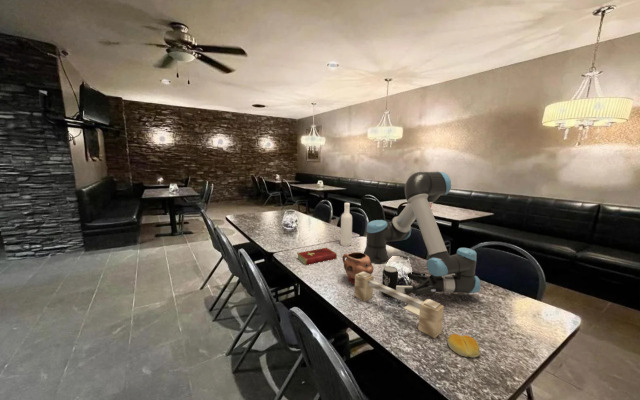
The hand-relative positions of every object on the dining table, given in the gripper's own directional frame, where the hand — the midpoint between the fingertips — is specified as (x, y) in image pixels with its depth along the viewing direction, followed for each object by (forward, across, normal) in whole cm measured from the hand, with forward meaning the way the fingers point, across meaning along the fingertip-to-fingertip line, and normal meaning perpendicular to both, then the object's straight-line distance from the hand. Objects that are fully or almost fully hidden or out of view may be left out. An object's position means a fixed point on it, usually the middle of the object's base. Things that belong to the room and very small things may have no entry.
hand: (392, 281), depth 114 cm
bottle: (+17, +67, -7) cm, 70 cm away
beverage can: (+1, +1, -7) cm, 7 cm away
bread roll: (-16, -32, -7) cm, 37 cm away
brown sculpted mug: (+15, +12, -7) cm, 20 cm away
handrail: (+2, -14, -6) cm, 15 cm away
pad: (-10, -11, -6) cm, 16 cm away
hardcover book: (+36, +39, -7) cm, 54 cm away
